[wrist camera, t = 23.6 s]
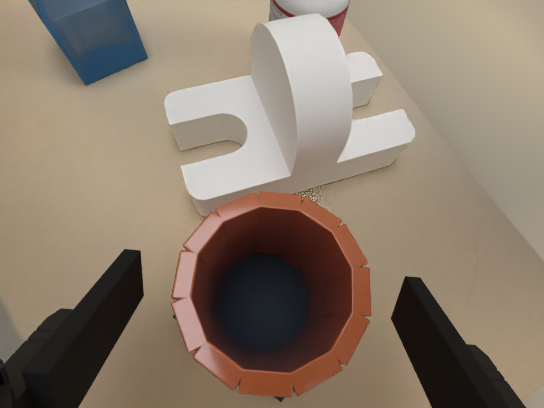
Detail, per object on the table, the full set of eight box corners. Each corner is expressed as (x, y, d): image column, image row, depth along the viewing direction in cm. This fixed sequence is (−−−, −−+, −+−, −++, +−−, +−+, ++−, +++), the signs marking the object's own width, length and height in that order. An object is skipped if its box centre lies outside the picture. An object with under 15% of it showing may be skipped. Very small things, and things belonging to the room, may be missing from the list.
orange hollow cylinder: (339, 286, 23) (402, 259, 13) (278, 390, 20) (304, 448, 11) (250, 224, 24) (251, 161, 15) (181, 315, 21) (129, 308, 12)
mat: (347, 284, 23) (349, 283, 23) (280, 400, 20) (281, 402, 20) (250, 218, 25) (250, 215, 24) (174, 317, 22) (172, 316, 21)
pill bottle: (326, 46, 32) (362, -86, 22) (329, 93, 30) (372, -29, 20) (266, 42, 32) (274, -94, 21) (265, 90, 29) (273, -37, 19)
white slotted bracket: (172, 122, 27) (127, 5, 17) (354, 80, 31) (405, -39, 21) (199, 221, 24) (164, 147, 14) (399, 162, 27) (485, 68, 17)
